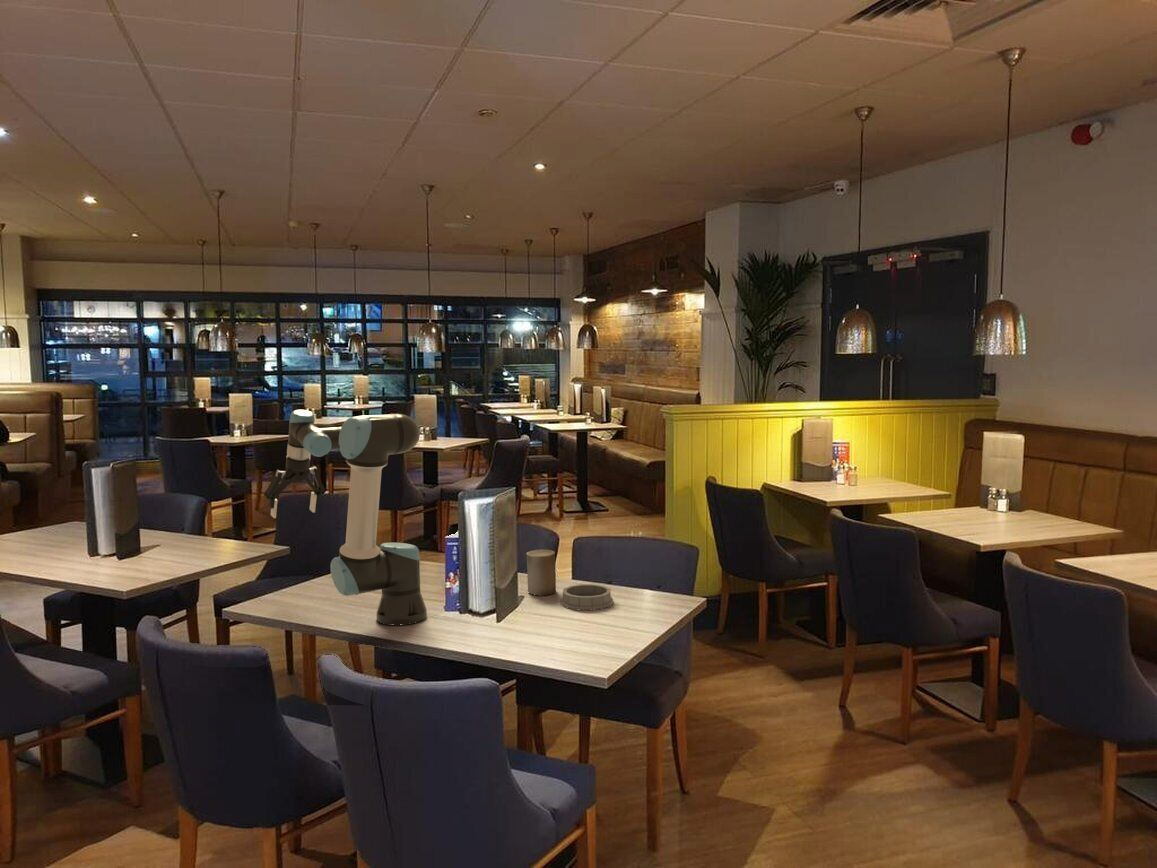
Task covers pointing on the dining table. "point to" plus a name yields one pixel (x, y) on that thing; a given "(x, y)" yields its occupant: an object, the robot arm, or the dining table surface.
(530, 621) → the dining table surface
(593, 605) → the candle dish
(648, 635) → the dining table surface
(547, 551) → the pillar candle
